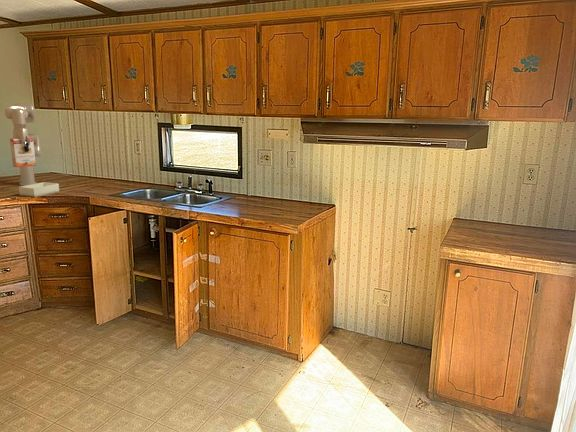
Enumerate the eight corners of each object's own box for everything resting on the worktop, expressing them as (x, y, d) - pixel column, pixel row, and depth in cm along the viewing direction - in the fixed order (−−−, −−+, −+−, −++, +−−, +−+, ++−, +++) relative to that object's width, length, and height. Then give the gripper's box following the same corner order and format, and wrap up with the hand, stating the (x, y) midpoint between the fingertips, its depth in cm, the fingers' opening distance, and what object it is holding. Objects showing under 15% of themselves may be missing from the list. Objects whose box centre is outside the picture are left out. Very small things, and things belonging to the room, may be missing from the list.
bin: (19, 195, 312) (18, 186, 310) (45, 189, 332) (44, 182, 331) (34, 196, 308) (33, 188, 306) (59, 191, 328) (58, 183, 326)
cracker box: (16, 167, 314) (13, 138, 309) (12, 166, 318) (8, 138, 312) (36, 165, 326) (33, 137, 320) (32, 164, 329) (29, 137, 323)
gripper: (6, 126, 313) (9, 150, 318) (24, 127, 308) (27, 152, 313) (15, 125, 320) (18, 149, 325) (33, 127, 315) (36, 151, 320)
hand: (22, 151), depth 319 cm, fingers closed on cracker box, 7 cm apart
